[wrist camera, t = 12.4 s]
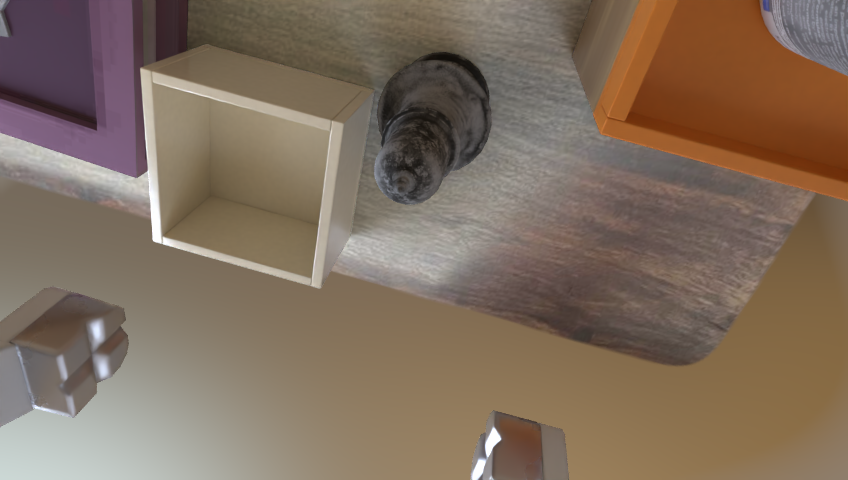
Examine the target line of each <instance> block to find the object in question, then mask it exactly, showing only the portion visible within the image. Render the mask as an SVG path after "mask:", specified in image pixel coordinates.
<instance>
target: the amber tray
mask: <svg viewBox="0 0 848 480" xmlns="http://www.w3.org/2000/svg"><path fill="white" fill-rule="evenodd" d="M593 116H594V119H595V121H596V123H597V126H598V129H599V132H600V134H602V135H605V136H609V137H613V138H616V139H620V140H624V141H628V142H631V143H635V144H639V145H642V146H646V147H650V148H653V149H657V150H661V151H664V152H668V153H672V154H675V155H679V156H683V157H687V158H690V159H694V160H698V161H701V162H705V163H709V164H712V165H716V166H720V167H723V168H727V169H731V170H735V171H738V172H742V173H746V174H749V175H753V176H757V177H760V178H764V179H768V180H771V181H775V182H779V183H783V184H786V185H790V186H794V187H797V188H801V189H805V190H808V191H812V192H816V193H819V194H823V195H827V196H830V197H835V198H838V199H842V200H845V201H848V76H847V75H844V74H842V73H840V72H837V71H835V70H833V69H830V68H828V67H826V66H824V65H821V64H819V63H817V62H815V61H812V60H810V59H807V58H805V57H803V56H801V55H799V54H796V53H794V52H792V51H791V50H789V49H787V48H786V47H784V46H783V45H782V44H780V43H779V42H778V41H777V40H776V39H775V38H774V37H773V36H772V35H771V33H770V32H769V30H768V29H767V27H766V25H765V23H764V20H763V17H762V14H761V9H760V2H759V0H640V1H639V3H638V6H637V8H636V10H635V13H634V15H633V18H632V20H631V23H630V25H629V28H628V30H627V33H626V35H625V37H624V40H623V42H622V45H621V47H620V50H619V52H618V55H617V57H616V59H615V62H614V64H613V67H612V69H611V72H610V74H609V77H608V79H607V82H606V84H605V86H604V89H603V91H602V94H601V96H600V99H599V101H598V104H597V106H596V108H595V111H594V113H593Z"/></svg>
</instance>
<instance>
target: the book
mask: <svg viewBox="0 0 848 480" xmlns="http://www.w3.org/2000/svg"><path fill="white" fill-rule="evenodd" d="M187 15H188V0H0V133H3V134H6V135H9V136H12V137H15V138H18V139H21V140H24V141H27V142H30V143H33V144H36V145H39V146H42V147H45V148H48V149H51V150H54V151H57V152H60V153H63V154H66V155H69V156H72V157H75V158H78V159H81V160H84V161H87V162H90V163H93V164H96V165H99V166H102V167H105V168H108V169H111V170H114V171H117V172H120V173H123V174H126V175H129V176H132V177H135V178H138V177H139V176H141V175H142V174H144V173H145V172H147V171H148V164H147V151H146V138H145V125H144V112H143V99H142V86H141V73H140V68H141V67H143V66H146V65H149V64H152V63H155V62H157V61H160V60H163V59H166V58H168V57H171V56H174V55H177V54H180V53H182V52H185V51H186V50H187Z"/></svg>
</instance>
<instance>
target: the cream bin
mask: <svg viewBox="0 0 848 480" xmlns="http://www.w3.org/2000/svg"><path fill="white" fill-rule="evenodd" d="M140 73H141V86H142V99H143V112H144V125H145V138H146V151H147V164H148V178H149V191H150V204H151V217H152V230H153V241H154V242H157V243H161V244H165V245H168V246H171V247H175V248H179V249H182V250H186V251H189V252H193V253H197V254H200V255H203V256H207V257H211V258H214V259H217V260H221V261H224V262H228V263H232V264H235V265H239V266H242V267H246V268H250V269H253V270H256V271H260V272H263V273H267V274H271V275H274V276H277V277H281V278H285V279H288V280H292V281H295V282H299V283H302V284H306V285H309V286H310V285H311V286H312V287H316V288H321V287H322V285H323V283H324V282H325V280H326V278H327V276H328V275H329V273H330V271H331V269H332V268H333V266H334V264H335V262H336V261H337V259H338V257H339V255H340V254H341V252H342V250H343V248H344V247H345V245H346V243H347V241H348V239H349V238H350V236H351V230H352V224H353V218H354V212H355V206H356V200H357V194H358V188H359V182H360V176H361V171H362V165H363V159H364V153H365V147H366V141H367V135H368V129H369V123H370V117H371V111H372V105H373V99H374V94H375V90H373V89H370V88H366V87H362V86H359V85H355V84H351V83H348V82H344V81H340V80H337V79H333V78H329V77H326V76H322V75H318V74H315V73H311V72H307V71H304V70H300V69H296V68H293V67H289V66H285V65H282V64H278V63H274V62H270V61H267V60H263V59H259V58H256V57H252V56H248V55H245V54H241V53H237V52H234V51H230V50H226V49H223V48H219V47H215V46H212V45H208V44H205V45H202V46H199V47H196V48H194V49H191V50H188V51H185V52H182V53H180V54H177V55H174V56H171V57H168V58H166V59H163V60H160V61H157V62H155V63H152V64H149V65H146V66H143V67H141V68H140Z"/></svg>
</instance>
